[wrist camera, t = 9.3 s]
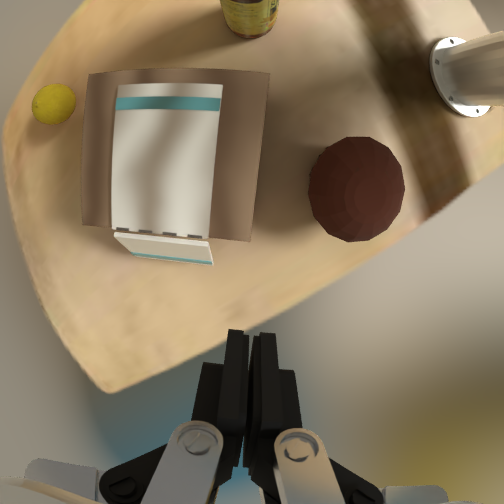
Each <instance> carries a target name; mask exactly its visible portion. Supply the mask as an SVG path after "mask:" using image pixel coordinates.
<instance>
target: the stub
mask: <svg viewBox="0 0 504 504" xmlns="http://www.w3.org/2000/svg"><path fill="white" fill-rule="evenodd" d="M114 237H115V238H116V239H117V240H118V241H119V242H120V243H121V244H122V245H124V246H125V247H126V248H127V249H128V250H129V251H130V252H131V254H133V255H134V256H136V257H142V258H150V259H159V260H167V261H175V262H184V263H193V264H201V265H210V266H213V258H212V254H211V250H210V246H209V242H206V241H197V240H187V239H178V238H168V237H159V236H149V235H140V234H130V233H120V232H115V233H114Z"/></svg>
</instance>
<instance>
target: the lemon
mask: <svg viewBox="0 0 504 504" xmlns="http://www.w3.org/2000/svg"><path fill="white" fill-rule="evenodd" d="M75 106H76V97H75V94H74V92H73V91H72V90H71V89H70V88H69V87H68V86H65V85H63V84H51V85H48V86H45V87H43V88H42V89H40V90H39V91H38V93H37V94H36V95H35V97H34V99H33V102H32V112H33V115H34V116H35V118H36V119H37V120H38V121H40V122H42V123H45V124H49V125H52V124H59V123H61V122H63V121H65V120H66V119H68V118H69V117H70V116H71V114H72V113H73V111H74V109H75Z"/></svg>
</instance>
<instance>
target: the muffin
mask: <svg viewBox="0 0 504 504" xmlns="http://www.w3.org/2000/svg"><path fill="white" fill-rule="evenodd" d="M309 175H310V185H309V190H308V195H309V199H310V203H311V207H312V211H313V215H314V217H315V219H316V220H317V221H318V222H319V223H320V225H321V226H322V227H323V228H324V229H325V231H326V232H327V233H328V234H330V235H332V236H334V237H337V238H339V239H341V240H344V241H346V242H356V241H368V240H370V239H372V238H373V237H375V236H377V235H379V234H380V233H382V232H384V231H385V230H387V229H388V227H389V226H390V225H391V223H392V222H393V220H394V219H395V218H396V216H397V215H398V213H399V212H400V209H401V205H402V200H403V196H404V191H405V185H404V179H403V174H402V168H401V165H400V164H399V162H398V161H397V159H396V158H395V156H394V155H393V153H392V152H391V150H390V149H389V148H388V147H386V146H385V145H383V144H381V143H379V142H378V141H376V140H374V139H372V138H370V137H346V138H344V139H342V140H340V141H338V142H337V143H335V144H333V145H331V146H329V147H327V148H326V149H325V151H324V152H323V154H321V155H319V158H318V160H317V162H316V164H315V165H314V167H313V168H312V171H311V173H310V174H309Z"/></svg>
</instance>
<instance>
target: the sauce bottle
mask: <svg viewBox="0 0 504 504" xmlns="http://www.w3.org/2000/svg"><path fill="white" fill-rule="evenodd" d="M220 3H221V6H222V10H223V14H224V17H225V20H226V23H227V25H228V26H229V28H230V29H231V30H232V31H233V32H234V33H235V34H237V35H238V36H241V37H245V38H257V37H261V36H263V35H265V34H266V33H268V32H269V31H270V30H271V29H272V27H273V25H274V23H275V21H276V18H277V12H278V5H279V0H220Z"/></svg>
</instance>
